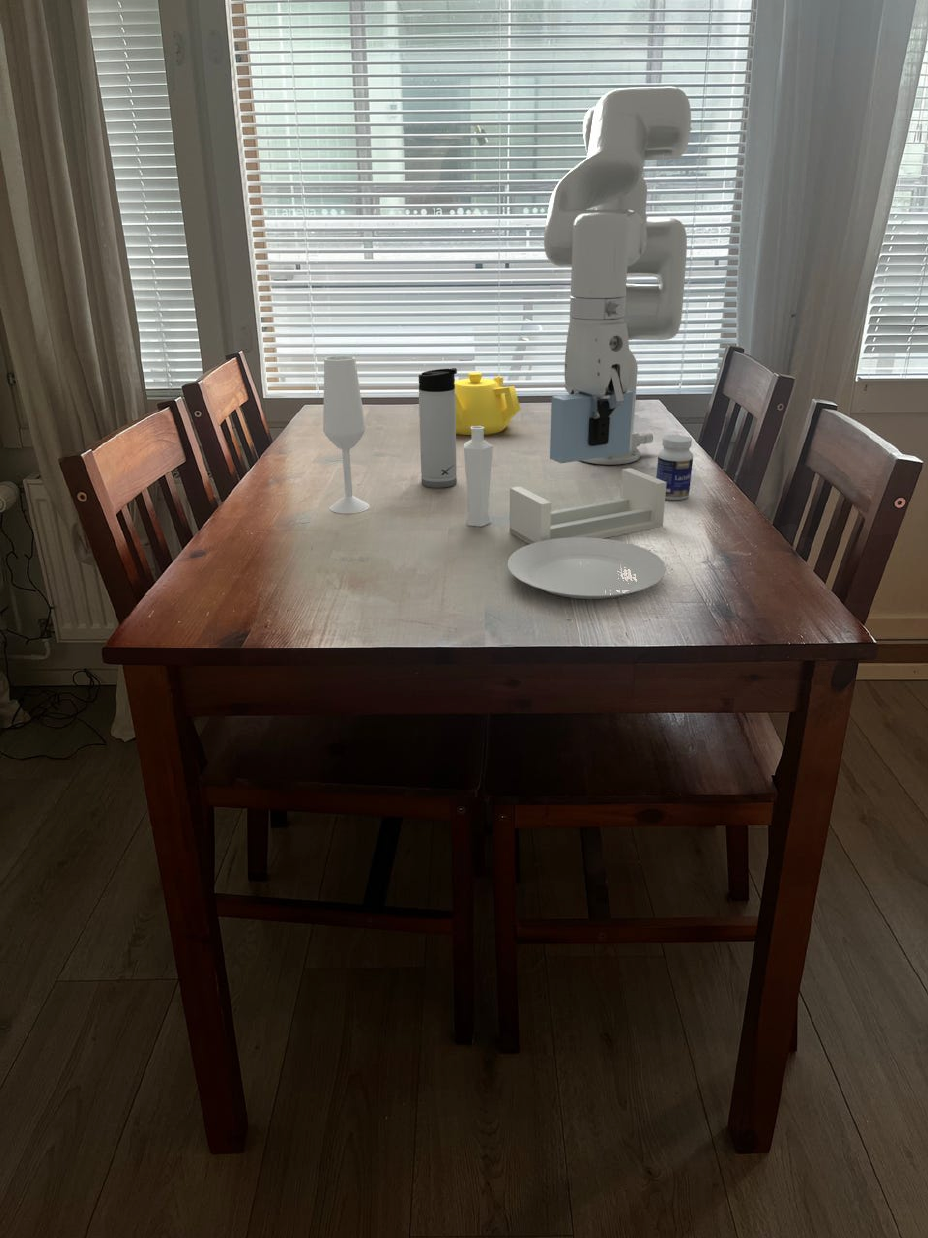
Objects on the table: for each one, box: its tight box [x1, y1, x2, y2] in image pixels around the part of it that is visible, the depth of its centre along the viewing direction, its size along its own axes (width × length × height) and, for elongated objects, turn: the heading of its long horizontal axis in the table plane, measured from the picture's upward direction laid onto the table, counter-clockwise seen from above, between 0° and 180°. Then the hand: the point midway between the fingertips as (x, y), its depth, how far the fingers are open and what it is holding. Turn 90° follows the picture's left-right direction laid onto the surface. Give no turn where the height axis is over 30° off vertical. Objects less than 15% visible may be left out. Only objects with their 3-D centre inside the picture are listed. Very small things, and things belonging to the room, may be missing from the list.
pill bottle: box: [655, 434, 694, 501], centre depth 152 cm, size 6×6×10 cm
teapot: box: [454, 371, 521, 436], centre depth 197 cm, size 17×17×12 cm
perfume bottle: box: [463, 426, 494, 528], centre depth 140 cm, size 5×4×15 cm
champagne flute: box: [322, 355, 371, 514], centre depth 145 cm, size 7×7×24 cm
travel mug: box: [418, 367, 458, 489], centre depth 158 cm, size 6×7×20 cm
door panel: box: [549, 390, 633, 464], centre depth 132 cm, size 12×3×9 cm, turn 117°
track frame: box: [509, 467, 667, 545], centre depth 138 cm, size 22×9×7 cm, turn 117°
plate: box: [507, 537, 667, 600], centre depth 121 cm, size 21×21×2 cm
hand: (590, 440), depth 133 cm, fingers closed on door panel, 3 cm apart
